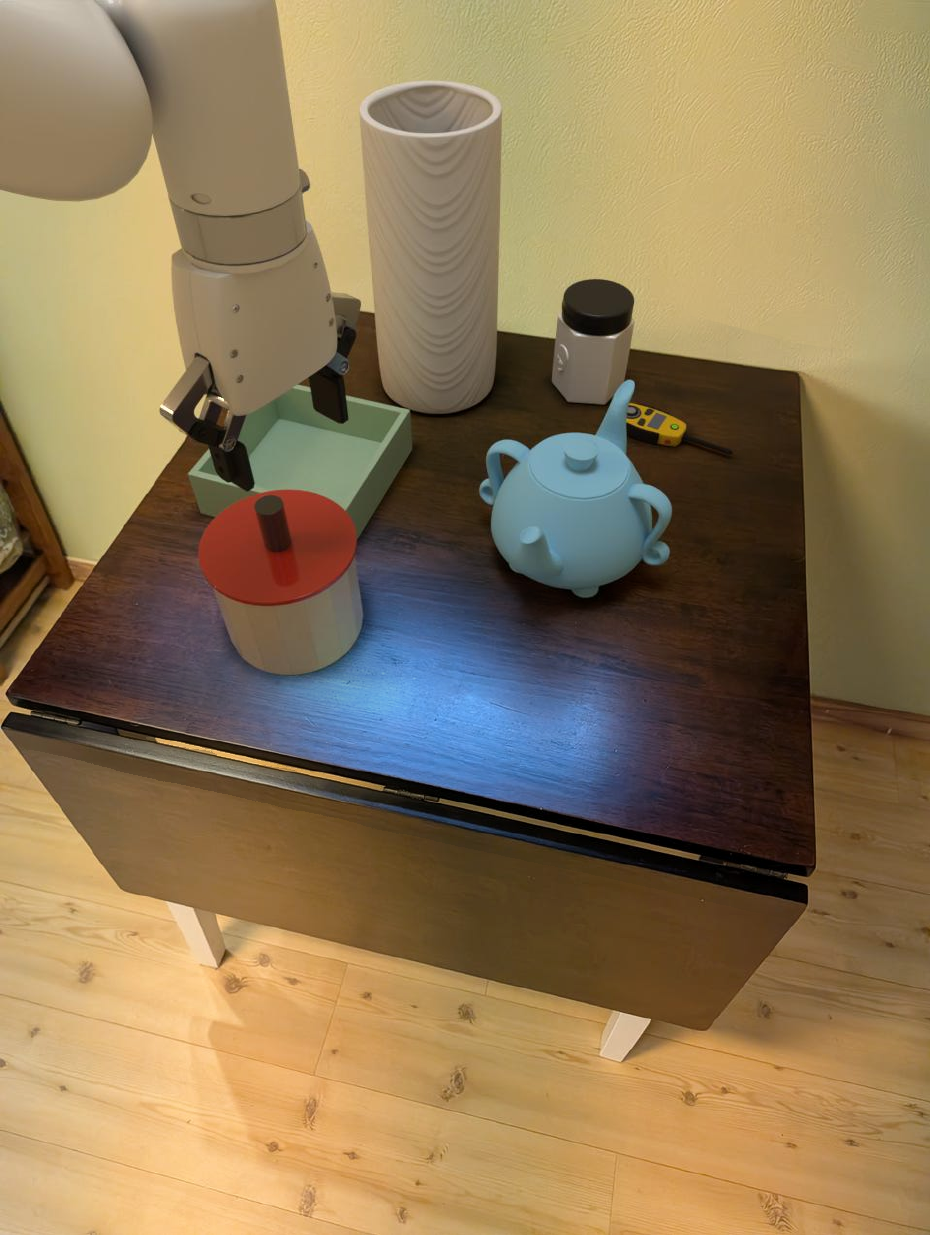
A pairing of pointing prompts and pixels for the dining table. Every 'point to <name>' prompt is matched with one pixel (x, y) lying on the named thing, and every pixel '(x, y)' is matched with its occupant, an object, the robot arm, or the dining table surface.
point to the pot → (297, 628)
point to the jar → (593, 341)
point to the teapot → (576, 506)
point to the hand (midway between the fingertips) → (286, 447)
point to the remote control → (660, 428)
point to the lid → (277, 547)
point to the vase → (434, 239)
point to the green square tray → (314, 454)
